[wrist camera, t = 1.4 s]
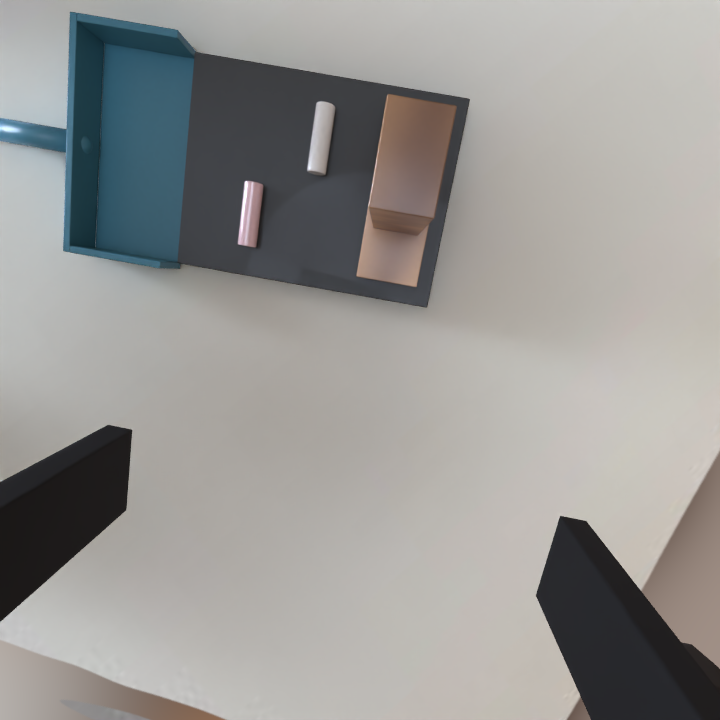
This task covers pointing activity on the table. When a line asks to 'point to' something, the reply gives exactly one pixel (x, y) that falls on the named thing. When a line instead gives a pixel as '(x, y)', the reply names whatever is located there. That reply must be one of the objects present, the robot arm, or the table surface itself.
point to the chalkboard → (293, 176)
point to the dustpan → (121, 139)
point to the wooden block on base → (405, 188)
